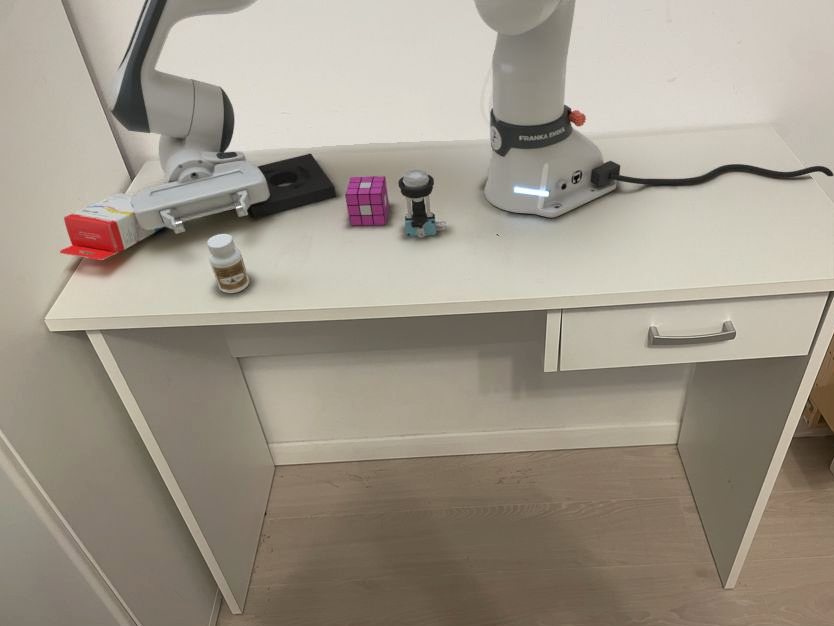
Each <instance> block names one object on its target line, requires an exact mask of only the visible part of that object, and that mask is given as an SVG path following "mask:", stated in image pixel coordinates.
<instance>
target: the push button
mask: <svg viewBox="0 0 834 626" xmlns="http://www.w3.org/2000/svg"><path fill="white" fill-rule="evenodd" d="M397 182H398V183H397V184H398V187H399V189H400V193H401V195H402V196H404V197H405V202H406V203H405V204H406V209H407V210H406V211H407V213H406V214H405V216H404V228H405V235H406V237H407V238H409V237H418V238H424V237H425V236H435V235H437V232H438V231H442V230H444V231H445V230H447V226H446V225H447V221H438V220H437V221H436V215H435V213H434V212H432V211H431V210H432V209H431V199H430V195H431V194H432V192H433V190H434V185H435V179H434V177H433V176H432V175H431V174H429V173H427V171H426V170H422V169H411V170H408V171H406V172H405V173H404V174H403V176H402V177H400V179H398V181H397ZM444 225H445V226H444Z"/></svg>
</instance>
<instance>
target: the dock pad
mask: <svg viewBox="0 0 834 626" xmlns="http://www.w3.org/2000/svg"><path fill="white" fill-rule="evenodd" d="M256 166H257V167H258V168H259V170H260V171H261V172H262V174H263V175H264V177H265V179H266V182H267V185H268V189H269V193H270V196H269V198H268V199H267V200H266V201H262V202H258V203H254V204H251V205H250V207H249V209H250V210H251V212H252V213H253V216H254V218H255V219H258V218H261V217H265V216H269V215H272V214H276V213H280V212H284V211H287V210H291V209H295V208H298V207H302V206H306V205H309V204H314V203H317V202H321V201H325V200H328V199H332V198H336V197H337V193H336V189H335V185H334V184H333V183H332V181H331V180H330V178H329V177H328V175H327V174H326V173H325V172H324V169H323V168H322V167H321V165H320V164H319V163H318V161H317V160H316V158H315V157H314V156H313V155H312V153H306V154H302V155H298V156H295V157H290V158H286V159H281V160H278V161H273V162H270V163H266V164H262V165H256ZM284 183H290V184H286V185H280V184H284Z"/></svg>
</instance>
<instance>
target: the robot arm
mask: <svg viewBox="0 0 834 626" xmlns="http://www.w3.org/2000/svg"><path fill="white" fill-rule="evenodd" d="M257 1H258V0H144V2H143V5H142V8H141V10H140V12H139V13H140V14H139V16H138V18H137V21H136V23H135V27H134V28H133V29H134V30H133V32H132V35H131V37H130V40H129V43H128V45H127V48H126V51H125V54H124V55H123V57H122V60H121V62H120V63H119V67H118V69H117V71H116V73H115V74H114V76H113V79H112V80H111V82H110V86H109V91H108V105H109V111H110V113H111V115H112V116H113V117H114V118H115V119H116V120H117V121H118V123H119V124H120V125H122V127H124V128H125V129H126V130H127V131H128V132H136V133H145V134H155V135H160V136H159V139H158V140H159V141H158V159H159V163H160V166H161V167H160V168H161V170H162V172H163V174H164V179H165V182H166V183H162V184H159V185H158V184H157V185H154V186H150V187H145V188H143V189H140V190H138V191H137V192H136V193H135V194H134V195H135V197H132V198H131V206H132V207H133V208H134V213H135V216H136V218H137V221H138V223H139V225H140V227H141V228H142V229H144V230H153V229H156V228H160V227H164V226H166V227H164V228H168V229H171V230H173V231H174V233H175V235H177V234H180V233H183V232H186V229H185V225H184V223H183V222H188V221H192V220H195V219H199V218H203V217H206V216H212V215H214V214H219V213H223V212H226V211H231V210H234V209H235V212H236V215H237V217H238V218H241V217H245V216H248V215H249V213H248V209H250V205H251V204H254V203H258V202H262V201H266V200H267V199H268V198H269V196H270V193H269V189H268V185H267V182H266V179H265V177H264V175H263V174H262V172H261V171H260V170H259V168H258V167H257V166H258V165H256V164H255V163H254V162H252V161H249V160H247V157H246V155H245V153H244V152H243V151H239V150H238V151H227V149H229V147H230V145H231V142H232V139H233V136H234V130H235V111H234V107H233V104H232V101H231V100H230V98H229V96H228V94H227V93H226V91H225V89H223V88H222V86H219V85H215V84H211V83H208V82H206V81H205V82H204V81H200V80H196V79H193V78H187V77H184V76H179V75H176V74H171V73H167V72H162V71H159V70H157V69H156V66H157V64H158V62H159V59H160V56H161V54H162V52H163V50H164V47H165V44H166V42H167V39H168V36H169V34H170V32H171V30H172V28H173V27H174V26H175V25H176V24H178V23H180V22H181V21H183V20H186V19H190V18H194V17H201V16H213V15H216V16H217V15H231V14H234V13H238V12H241V11H244V10H247V9H248V8H250V7H251V6H253V5H254V4H255V3H257ZM473 1H474V5H475V8H476V10H477V13H478V15H479V17H480V19H481V20H482V21H483V23H485V25H486V26H488V28H490V29H491V30H493V31H495V32H496V33H497V34H496V40H495V46H494V50H493V54H492V60H491V76H492V77H491V79H492V81H491V83H492V84H491V85H492V86H491V87H492V89H491V90H492V107H491V110H490V111H489V113H490V115H489V118H490V119H489V138H490V147H491V155H490V156H491V157H490V164H489V171H488V176H487V180H486V183H485V187H484V191H483V192H484V197H485V199H486V200H487V201H488V203H490V204H491V205H493V206H494V207H496V208H498V209H500V210H504V211H506V212H511V213H517V214H529V215H531V214H532V215H538V216H541V217H545V218H552V219H553V218H557V217H559V216H561V215H563V214H565V213H568V212H570V211H573V210H575V209H576V208H578V207H581V206H583V205H585V204H587V203H588V202H591V201H593V200H596V199H598V198H599V197H602V196H604V195H606V194H608V193H610V192H612V191H614V190H616V189H617V181H618V182H624V183H628V184H637V185H659V186H660V185H664V186H665V185H666V186H671V185H672V186H677V185H679V186H680V185H690V184H691V185H692V184H698V183H702V182H705V181H707V180H710V179H711V178H713V177H715V176H716V175H718V174H720V173H724V172H727V171H747V172H752V173H756V174H760V175H765V176H768V177H774V178H782V179H783V178H785V179H787V178H788V179H790V178H794V177H795V178H796V177H801V176H805V175H808V174H812V173H817V172H819V173H822V174H824V175H825V176H826V177H834V173H833V171H832V170H831V169H830V168H829V167H826V166H823V165H813V166H809V167H805V168H802V169H797V170H792V171H778V170H773V169H768V168H764V167H760V166H755V165H749V164H741V163H732V164H731V163H730V164H725V165H721V166H719V167H717V168H714V169H713V170H711V171H708V172H707V173H705V174H702V175H699V176H694V177H685V178H641V177H640V178H639V177H633V176H628V175H627V176H626V175H621V174H620V173H621V164H618V163H616V162H614V161H613V160H609V161H606V162H604V157H603V154H602V151H601V149H600V147H598V145H597V144H596V143H595V142H594V141H593V140H591V139H590V138H589V137H587V136H586V135H585V134H583V133H582V132H580V131H579V130H577V129H576V128H574V127H573V126H572V125H573V124H574V125H575V126H576V127H582V126H583V125H584V124H585V123H586V120H587V116H586V115H585V114H584V113H582V112H581V111H579V110H577V109H575V110H573V111H572V108H571V107H570V106H568V105H566V104H565V97H566V82H567V81H566V80H567V79H566V78H567V62H568V55H569V48H570V41H571V35H572V27H573V21H574V16H575V15H574V14H575V8H576V1H577V0H473Z"/></svg>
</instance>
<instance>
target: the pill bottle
mask: <svg viewBox="0 0 834 626" xmlns="http://www.w3.org/2000/svg"><path fill="white" fill-rule="evenodd" d="M206 244H207V248H208V251H209V253H210V255H209V258H208V261H209V263H210V266H211V269H212V272H213V275H214V278H215V280H216V283H217V286H218V289H219V290H220V291H221V292H223V293H226V294H235V293H238V292H241V291H244V290H245V289H246V288H247V287H248V286H249V285H250V278H249V274H248V271H247V268H246V265H245V261H244V259H243V256H242V252H241V250H240V249H239V248H237V247H236V245H235V241H234V238H233V237H232V236H231V235H230V234H229V233H228V234H227V233H218V234H215V235H213V236H211V237H209V239H207V242H206Z"/></svg>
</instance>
